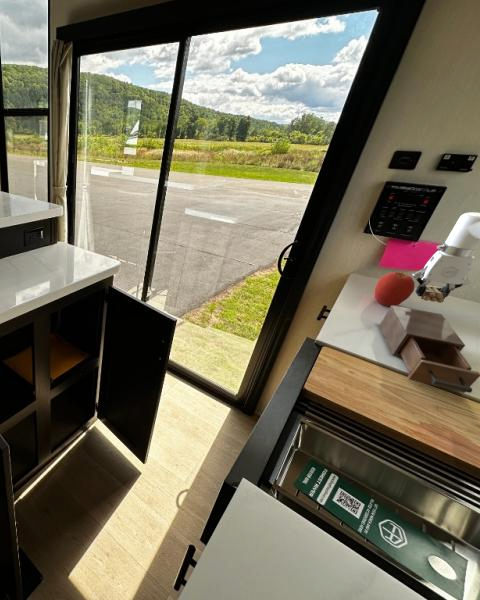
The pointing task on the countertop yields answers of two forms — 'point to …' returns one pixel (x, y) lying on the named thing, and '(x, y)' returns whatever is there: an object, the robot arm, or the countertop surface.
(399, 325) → the cabinet
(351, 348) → the countertop surface
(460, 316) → the countertop surface
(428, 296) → the bundle
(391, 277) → the apple
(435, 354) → the drawer
